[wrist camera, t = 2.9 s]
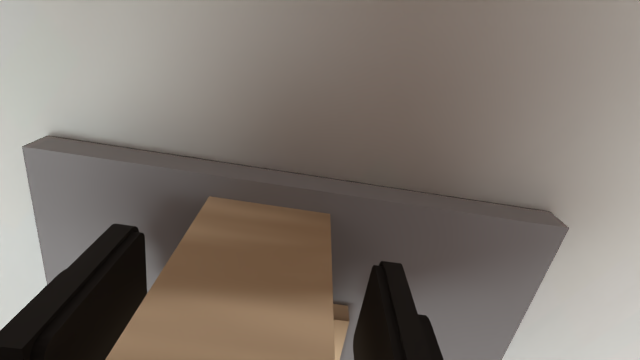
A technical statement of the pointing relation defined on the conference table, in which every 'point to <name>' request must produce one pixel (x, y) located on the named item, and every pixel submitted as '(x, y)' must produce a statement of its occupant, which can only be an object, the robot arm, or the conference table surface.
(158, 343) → the stepped wooden block
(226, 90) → the conference table surface
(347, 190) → the slate board
